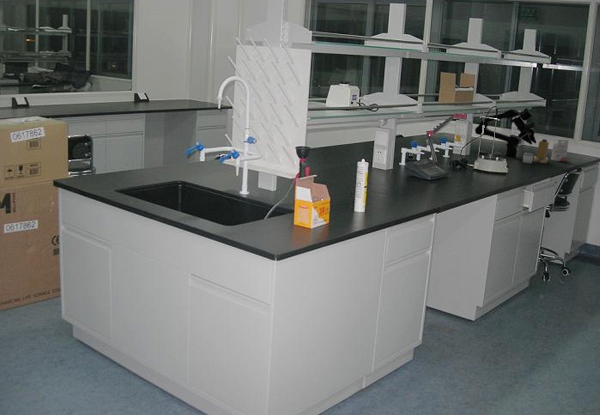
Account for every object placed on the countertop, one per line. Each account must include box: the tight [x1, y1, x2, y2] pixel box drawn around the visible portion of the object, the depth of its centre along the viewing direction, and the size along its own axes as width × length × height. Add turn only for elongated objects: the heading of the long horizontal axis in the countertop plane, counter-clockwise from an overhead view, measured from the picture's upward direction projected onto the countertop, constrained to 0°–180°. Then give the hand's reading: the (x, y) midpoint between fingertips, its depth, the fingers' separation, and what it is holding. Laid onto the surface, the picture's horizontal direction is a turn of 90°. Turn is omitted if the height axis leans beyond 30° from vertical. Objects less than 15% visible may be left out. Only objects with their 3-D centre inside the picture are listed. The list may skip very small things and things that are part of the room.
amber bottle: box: [535, 138, 550, 159], centre depth 468 cm, size 5×5×12 cm
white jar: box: [522, 152, 535, 164], centre depth 460 cm, size 6×6×6 cm
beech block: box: [532, 155, 549, 164], centre depth 470 cm, size 9×9×3 cm
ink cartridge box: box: [550, 139, 569, 162], centre depth 480 cm, size 9×5×15 cm, turn 105°
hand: (533, 143), depth 471 cm, fingers open, 9 cm apart
